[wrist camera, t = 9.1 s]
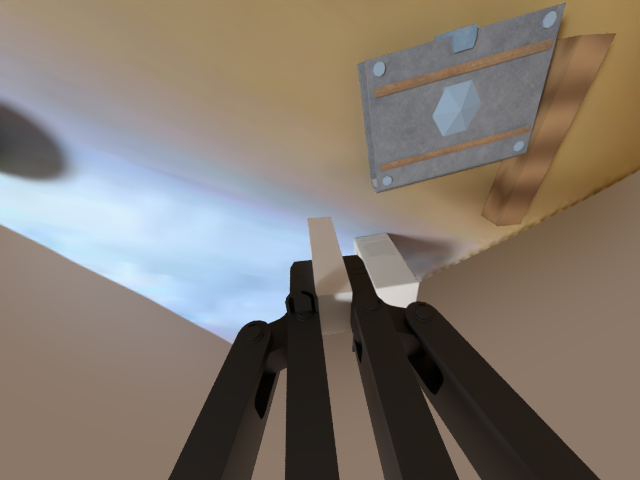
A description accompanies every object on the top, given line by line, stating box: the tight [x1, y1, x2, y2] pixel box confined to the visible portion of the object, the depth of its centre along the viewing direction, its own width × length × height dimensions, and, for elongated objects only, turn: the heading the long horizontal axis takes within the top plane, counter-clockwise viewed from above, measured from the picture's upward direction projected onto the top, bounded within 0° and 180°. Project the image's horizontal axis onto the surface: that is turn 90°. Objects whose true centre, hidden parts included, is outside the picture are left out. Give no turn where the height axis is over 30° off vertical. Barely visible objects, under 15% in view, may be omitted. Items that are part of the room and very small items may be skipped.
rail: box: [481, 33, 616, 226], centre depth 33 cm, size 24×4×4 cm, turn 3°
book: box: [358, 3, 566, 193], centre depth 30 cm, size 21×16×5 cm
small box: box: [354, 233, 420, 308], centre depth 38 cm, size 8×6×13 cm
